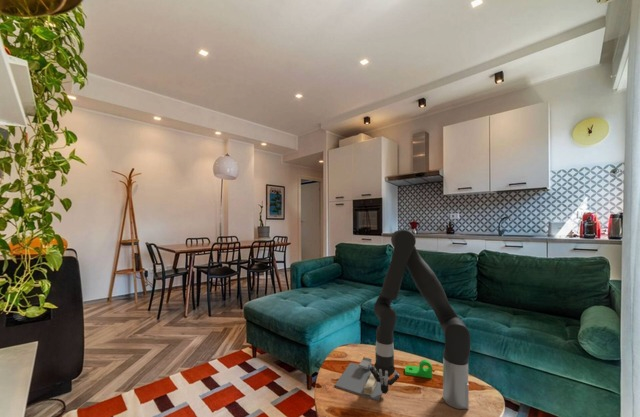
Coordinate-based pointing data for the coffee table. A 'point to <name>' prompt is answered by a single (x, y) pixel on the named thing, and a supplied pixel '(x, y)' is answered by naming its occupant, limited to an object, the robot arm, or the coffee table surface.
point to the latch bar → (370, 385)
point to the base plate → (358, 381)
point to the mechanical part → (420, 370)
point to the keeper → (366, 363)
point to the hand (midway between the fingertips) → (384, 392)
